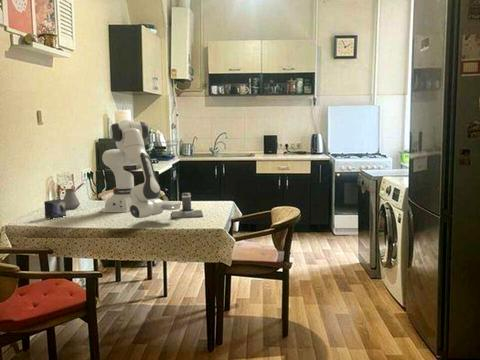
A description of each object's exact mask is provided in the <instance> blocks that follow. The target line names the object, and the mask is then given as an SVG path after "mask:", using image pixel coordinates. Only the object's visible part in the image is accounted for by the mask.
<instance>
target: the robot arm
mask: <svg viewBox="0 0 480 360" xmlns="http://www.w3.org/2000/svg"><path fill="white" fill-rule="evenodd" d="M149 134H150V128H149V126H148V123H146V122H144V121H132V120H128V119H123V120H121V121H120V122H116V123H112V124H111V125H110V128H109V136H110V138H111V140H112V141H113V142H115V145H116V148H112V149H108V150H105V151H104V152H103V153H102V155H101V156H102V157H101V158H102V159H101V160H102V162H103V164H104V165H105V166H106V167H108V168H109V169H110V170H111V172H112V173H113V175H114V179H115V185H116V186H115V187H113V190H112V193H113V194H111V196H110V197H108V198H107V199H106V200H105V203H104V207H103V208H101V210H100V211H101V212H102V213H127V212H130V214H131V216H133V218H136V219H143V218H148V217H150V216H157V215H161V214H162V213H163V212H164V211H178V210H181V206H182V201H170V200H164V199H163V200H162V199H160V198H158V197H159V196H160V194H161V186H160V184H159V182H158V179H157V175H156V173H155V168H154V166H153V161H152V159H151V156H150V155H149V154H148V153H147V151H146V147H145V143H144V142H145V141H144V140H147V139H148V138H149ZM137 165H139V166H140V168H141V170H142V174H143V177H144V178H143V179H144V182H143V183H140V184H137V185H135V181H134V180H135V177H134V174H133V173H131V172H130V171H127V170H125V169H124V167H127V166H137Z"/></svg>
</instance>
